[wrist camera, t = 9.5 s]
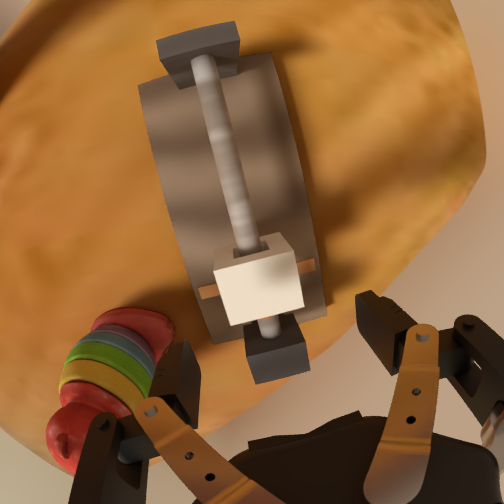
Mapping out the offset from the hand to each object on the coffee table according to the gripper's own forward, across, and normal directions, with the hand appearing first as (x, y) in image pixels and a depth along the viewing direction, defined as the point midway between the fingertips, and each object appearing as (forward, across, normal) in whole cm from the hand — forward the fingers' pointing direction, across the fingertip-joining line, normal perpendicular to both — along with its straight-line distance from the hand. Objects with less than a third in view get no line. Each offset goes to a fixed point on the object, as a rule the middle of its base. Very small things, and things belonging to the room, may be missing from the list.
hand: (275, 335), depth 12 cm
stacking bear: (+15, +16, +8) cm, 23 cm away
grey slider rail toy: (+15, 0, -4) cm, 15 cm away
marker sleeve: (+10, 0, 0) cm, 10 cm away
